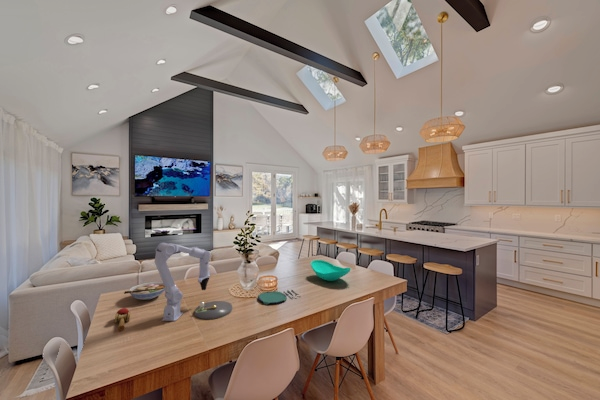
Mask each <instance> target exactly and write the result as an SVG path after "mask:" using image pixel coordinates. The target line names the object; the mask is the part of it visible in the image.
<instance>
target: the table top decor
mask: <svg viewBox="0 0 600 400" xmlns="http://www.w3.org/2000/svg"><path fill="white" fill-rule="evenodd" d="M310 266H311V269H312V271H313V272H314V274H316V276H317V277H318V278H320V279H322V280H324V281H327V282H335V281H337V280H339V279H342V277H345V276H347V274H349V273H350V272H351V269H352V268H351V267H340V266H337V265H334V264H333V263H331V262H328V261H325V260H321V259H315V260H312V261H310Z"/></svg>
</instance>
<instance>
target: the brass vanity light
mask: <svg viewBox="0 0 600 400" xmlns="http://www.w3.org/2000/svg"><path fill="white" fill-rule="evenodd" d="M204 303H205V301H200V302H199V306H200V309H197V311H204V310H207V309H216V308H217V305H212V306H211V307H208V308H204Z"/></svg>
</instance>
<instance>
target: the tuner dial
mask: <svg viewBox="0 0 600 400" xmlns="http://www.w3.org/2000/svg"><path fill="white" fill-rule="evenodd" d="M212 305H217V308H216V309H207V310H204V311H197V309H200V305H198V306H196V307H195V309H194V316H195V317H196V318H198V319H199V320H200V319H201V320H216V319H221V318H224V317H226V316H229V314H231V312H232V311H233V305H232V303H230V302H228V301H224V300H214V301H208V302H204V308H208V307H211V306H212Z"/></svg>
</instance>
